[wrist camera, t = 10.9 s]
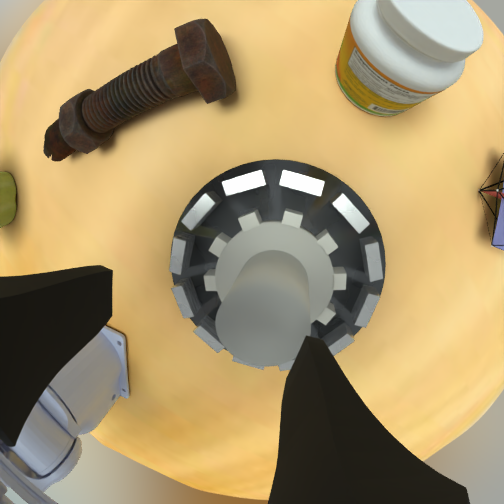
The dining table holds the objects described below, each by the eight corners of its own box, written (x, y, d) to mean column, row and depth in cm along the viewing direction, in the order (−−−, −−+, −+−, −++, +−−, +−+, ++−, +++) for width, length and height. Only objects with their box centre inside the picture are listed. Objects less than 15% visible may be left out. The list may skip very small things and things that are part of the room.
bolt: (82, 137, 19) (235, 65, 16) (70, 184, 18) (241, 111, 14) (39, 107, 14) (202, 3, 10) (18, 156, 13) (199, 36, 9)
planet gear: (316, 345, 18) (318, 411, 12) (201, 312, 18) (163, 367, 13) (360, 230, 15) (394, 264, 9) (225, 192, 16) (183, 204, 10)
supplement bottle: (368, 32, 12) (410, -55, 3) (426, 89, 12) (513, 41, 3) (316, 73, 14) (329, -21, 5) (378, 134, 14) (461, 98, 5)
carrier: (336, 372, 19) (338, 393, 17) (167, 323, 21) (153, 340, 18) (408, 199, 15) (424, 204, 13) (197, 139, 16) (182, 135, 14)
